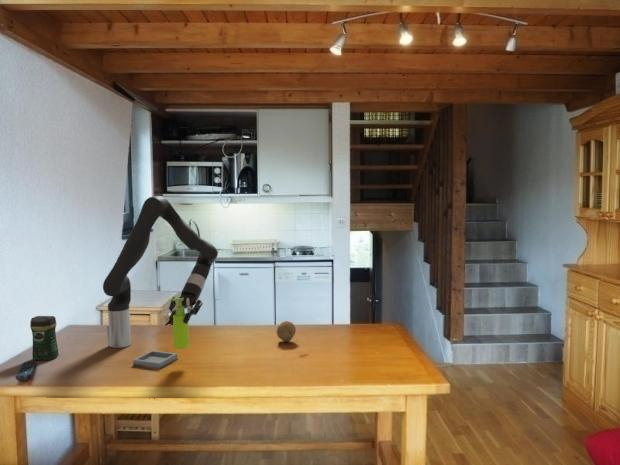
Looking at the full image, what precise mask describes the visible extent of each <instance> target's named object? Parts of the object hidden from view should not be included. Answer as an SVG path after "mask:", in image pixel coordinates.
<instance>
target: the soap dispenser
mask: <svg viewBox="0 0 620 465" xmlns="http://www.w3.org/2000/svg"><path fill="white" fill-rule="evenodd" d="M183 300H184V299H183V298H179V297H175V298H174V299H172V298H171V299H169V302H170V303H171V301H178V302H177V303H178V306H177V307H176V314H175V315H173V322H172V324H173V328H172V329H173V343H174V344H173V347H174V349H177V350H182V349H187V348H188V347H190V337H189V336H190V332H189V330H190V329H189V322H187V324H185V323H184V322H183V320H184V317H185V315H186V313H185V308H184V306H183V305H182V301H183Z"/></svg>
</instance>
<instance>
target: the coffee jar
mask: <svg viewBox="0 0 620 465" xmlns="http://www.w3.org/2000/svg"><path fill="white" fill-rule="evenodd" d="M29 328H30V330H31V335H32V351H31V352H32V360H33V361H50V360H54V359H56V358H58V356H59V347H58V341H57V335H56V328H57V319H56V317H55V316H54V315H36V316H33V317H31V319H30V327H29Z"/></svg>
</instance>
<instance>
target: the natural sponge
mask: <svg viewBox="0 0 620 465" xmlns="http://www.w3.org/2000/svg"><path fill="white" fill-rule="evenodd" d="M296 332H297V330H296V326H295V325H294V323H293V322H291V321H287V320H285V321H283V322H281V323H280V324H279V325H278V326H277V328H276V334H277V338H279V339H280V340H282V341H283V342H285V343H289V342H291V340H292V339H293V338H294V337H295V334H296Z"/></svg>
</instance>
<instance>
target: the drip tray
mask: <svg viewBox="0 0 620 465" xmlns="http://www.w3.org/2000/svg"><path fill="white" fill-rule="evenodd" d="M176 360H178V353H175V352H168V351H159V350H150V351H148V352H146V353H144V354H142V355H140V356H138V357H136V358H134V359H132V364H133V366H135V367H142V368H147V369H156V370H161V369H163V368H164V367H166V366H168V365H171V364H172V363H173V362H175V361H176Z"/></svg>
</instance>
